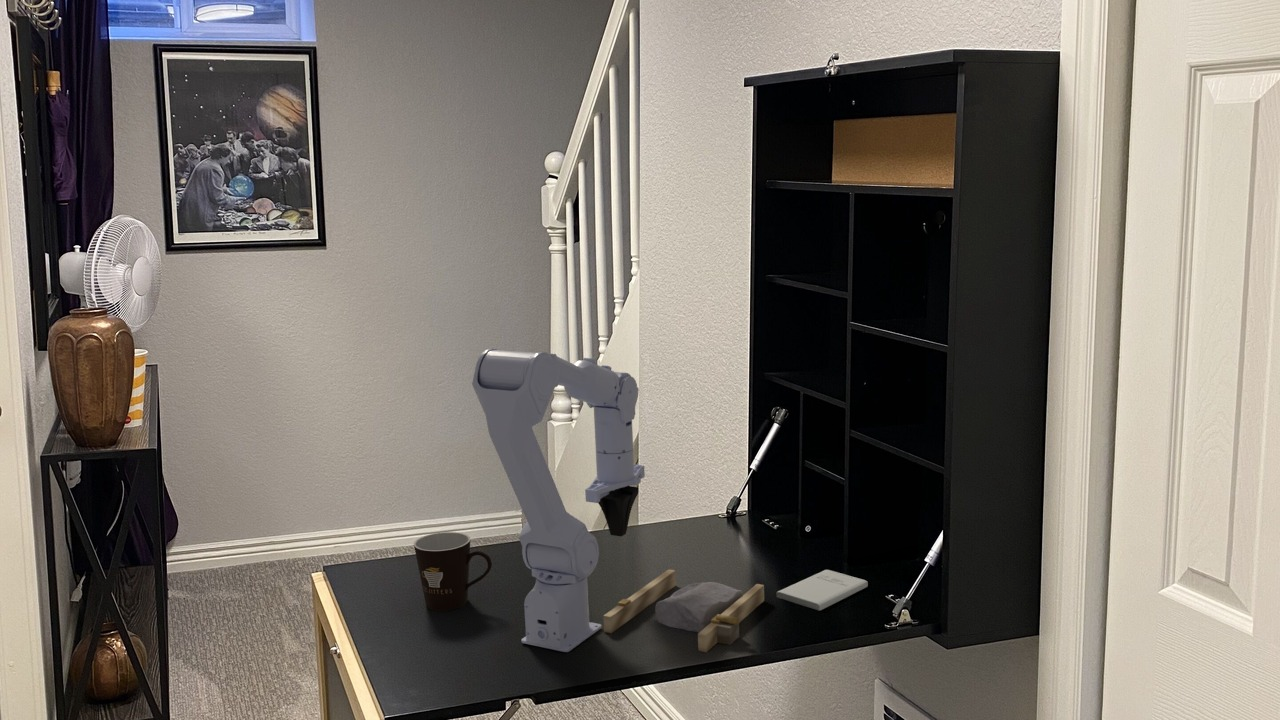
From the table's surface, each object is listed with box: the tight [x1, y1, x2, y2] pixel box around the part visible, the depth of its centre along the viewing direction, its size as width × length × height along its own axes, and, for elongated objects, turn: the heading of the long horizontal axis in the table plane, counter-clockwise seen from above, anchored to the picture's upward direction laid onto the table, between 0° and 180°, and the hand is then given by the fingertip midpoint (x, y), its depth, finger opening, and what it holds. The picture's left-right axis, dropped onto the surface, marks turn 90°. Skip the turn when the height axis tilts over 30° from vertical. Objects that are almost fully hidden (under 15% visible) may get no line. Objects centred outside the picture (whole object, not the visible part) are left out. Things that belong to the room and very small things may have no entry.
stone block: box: [654, 581, 744, 634], centre depth 173 cm, size 12×5×10 cm
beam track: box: [603, 569, 765, 653], centre depth 172 cm, size 20×19×4 cm
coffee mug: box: [413, 531, 493, 612], centre depth 180 cm, size 12×9×10 cm
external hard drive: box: [776, 569, 869, 612], centre depth 180 cm, size 2×8×12 cm
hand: (618, 534), depth 180 cm, fingers closed
